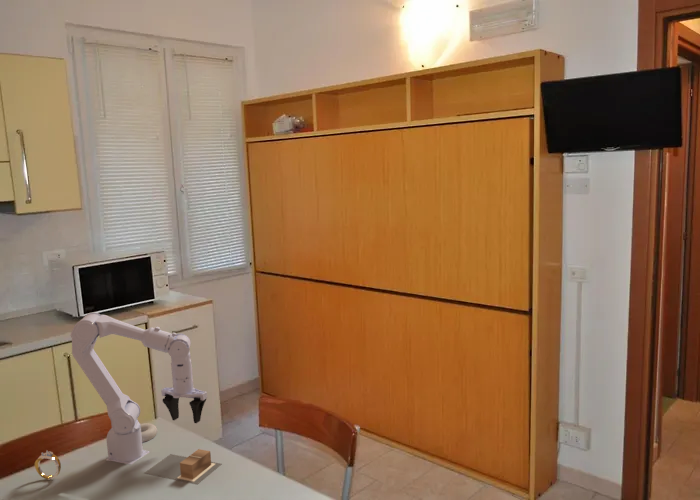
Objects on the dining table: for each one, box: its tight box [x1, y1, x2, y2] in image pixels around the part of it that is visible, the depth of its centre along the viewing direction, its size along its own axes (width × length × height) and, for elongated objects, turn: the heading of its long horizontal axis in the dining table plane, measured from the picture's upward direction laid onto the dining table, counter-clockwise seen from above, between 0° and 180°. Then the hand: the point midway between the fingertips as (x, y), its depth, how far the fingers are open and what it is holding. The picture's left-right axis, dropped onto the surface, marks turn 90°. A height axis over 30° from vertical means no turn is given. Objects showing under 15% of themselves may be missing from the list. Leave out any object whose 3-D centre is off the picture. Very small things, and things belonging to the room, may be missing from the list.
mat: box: [144, 453, 223, 485], centre depth 158 cm, size 18×11×1 cm, turn 67°
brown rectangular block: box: [180, 448, 212, 479], centre depth 156 cm, size 8×4×4 cm, turn 157°
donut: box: [140, 422, 158, 443], centre depth 179 cm, size 10×4×10 cm
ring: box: [34, 449, 62, 481], centre depth 156 cm, size 7×3×8 cm, turn 76°
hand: (186, 420), depth 168 cm, fingers open, 7 cm apart
